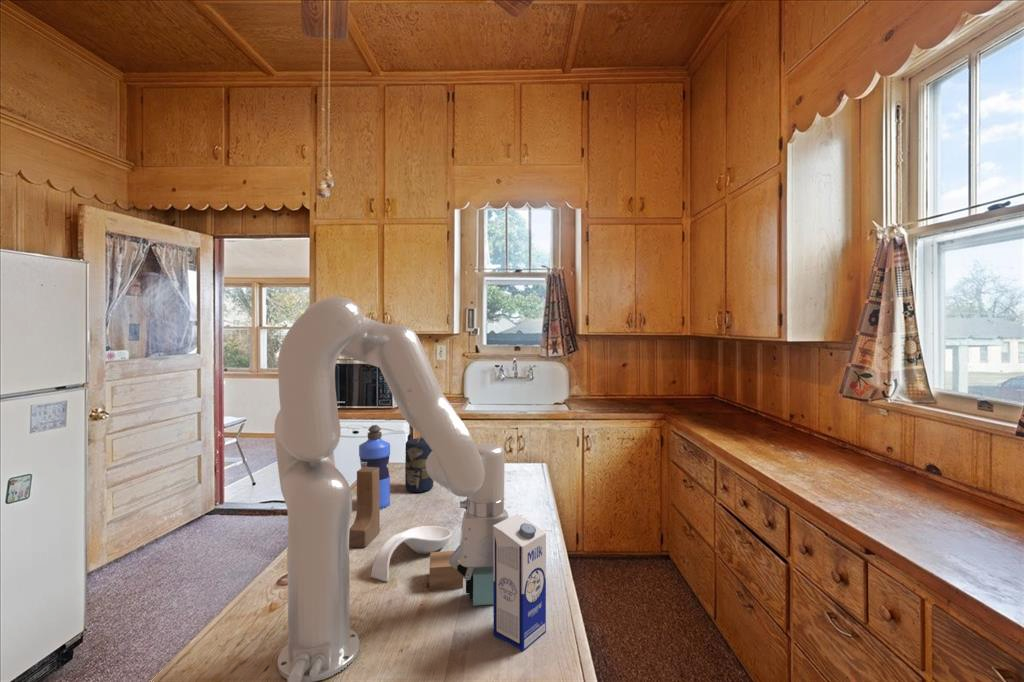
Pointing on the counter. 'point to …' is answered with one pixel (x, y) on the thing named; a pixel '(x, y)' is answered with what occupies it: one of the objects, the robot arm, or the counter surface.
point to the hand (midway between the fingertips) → (484, 594)
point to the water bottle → (377, 461)
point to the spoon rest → (415, 538)
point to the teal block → (482, 586)
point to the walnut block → (443, 572)
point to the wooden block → (366, 508)
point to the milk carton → (519, 581)
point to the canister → (417, 466)
